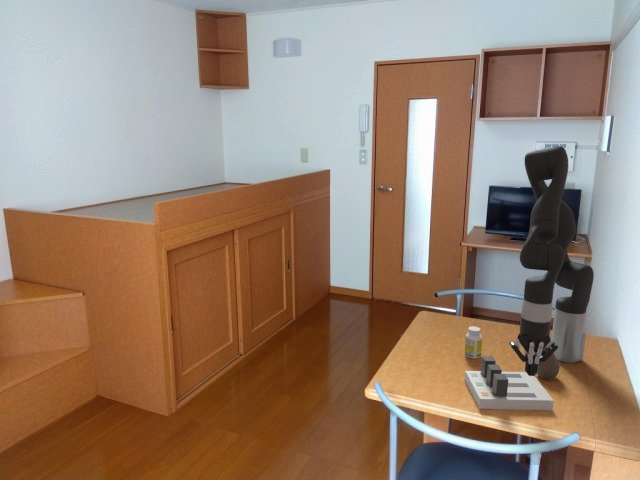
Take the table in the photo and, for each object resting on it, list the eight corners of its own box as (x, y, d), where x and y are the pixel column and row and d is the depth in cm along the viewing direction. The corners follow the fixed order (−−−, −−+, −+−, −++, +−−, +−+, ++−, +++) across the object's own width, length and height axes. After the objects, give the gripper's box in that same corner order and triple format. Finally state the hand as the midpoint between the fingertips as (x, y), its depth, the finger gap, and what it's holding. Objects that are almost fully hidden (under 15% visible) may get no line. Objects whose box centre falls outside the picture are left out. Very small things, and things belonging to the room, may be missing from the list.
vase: (556, 373, 154) (559, 347, 153) (559, 383, 148) (562, 357, 146) (533, 370, 157) (535, 344, 155) (534, 380, 150) (537, 353, 148)
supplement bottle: (479, 352, 169) (481, 325, 167) (482, 359, 164) (484, 332, 162) (463, 351, 170) (465, 325, 167) (466, 358, 164) (468, 331, 162)
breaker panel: (530, 381, 150) (532, 355, 148) (552, 410, 134) (556, 382, 132) (464, 379, 150) (466, 354, 148) (479, 408, 135) (481, 380, 133)
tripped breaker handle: (503, 390, 138) (504, 373, 137) (506, 396, 135) (508, 379, 133) (492, 389, 138) (493, 373, 137) (495, 395, 135) (497, 379, 134)
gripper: (554, 310, 134) (548, 368, 138) (506, 310, 134) (501, 368, 138) (567, 321, 127) (560, 381, 131) (516, 321, 127) (511, 381, 131)
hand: (530, 374), depth 134 cm, fingers closed
